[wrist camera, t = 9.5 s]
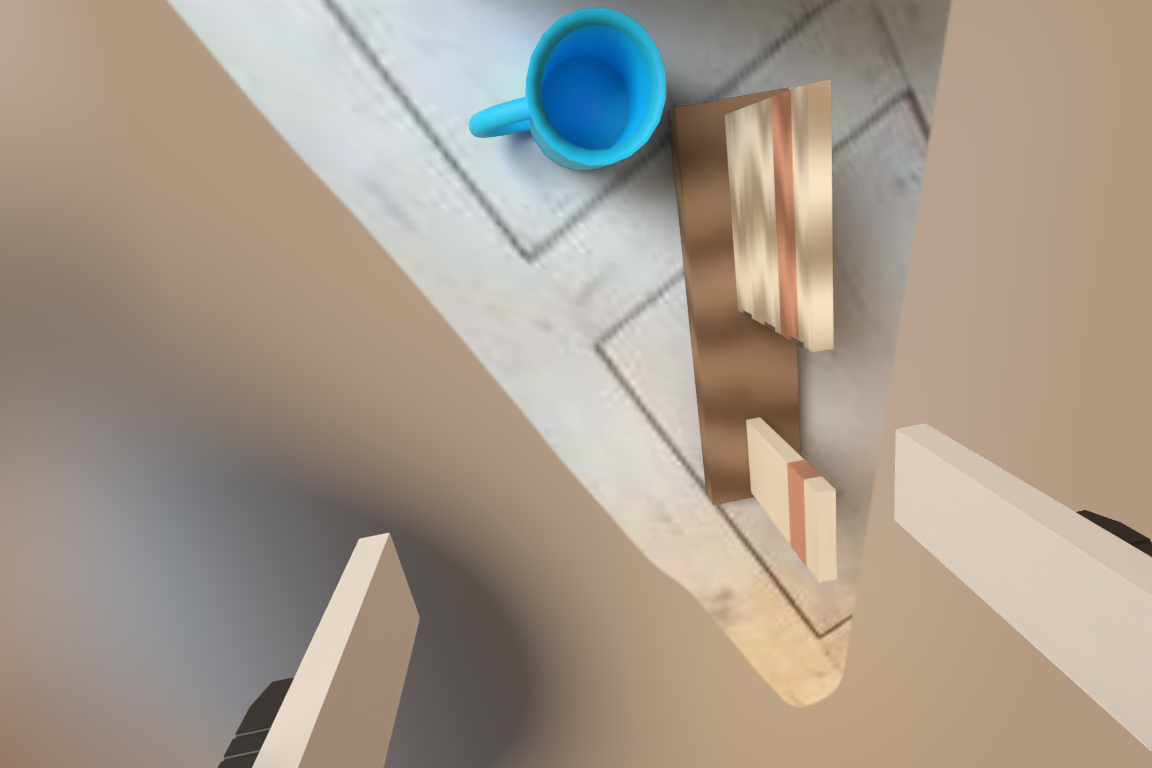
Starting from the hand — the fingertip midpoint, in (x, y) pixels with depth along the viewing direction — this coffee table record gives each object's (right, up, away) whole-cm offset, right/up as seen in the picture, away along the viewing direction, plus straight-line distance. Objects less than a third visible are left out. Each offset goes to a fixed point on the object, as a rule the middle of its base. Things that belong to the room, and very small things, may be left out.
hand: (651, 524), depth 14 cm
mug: (-3, +23, +26) cm, 34 cm away
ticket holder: (+11, +9, +31) cm, 35 cm away
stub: (+13, -2, +33) cm, 36 cm away
